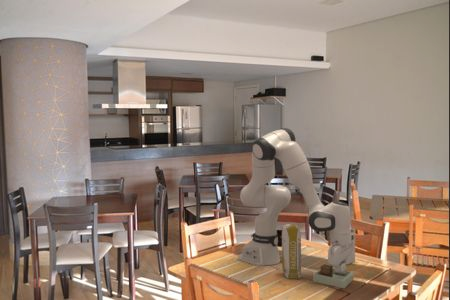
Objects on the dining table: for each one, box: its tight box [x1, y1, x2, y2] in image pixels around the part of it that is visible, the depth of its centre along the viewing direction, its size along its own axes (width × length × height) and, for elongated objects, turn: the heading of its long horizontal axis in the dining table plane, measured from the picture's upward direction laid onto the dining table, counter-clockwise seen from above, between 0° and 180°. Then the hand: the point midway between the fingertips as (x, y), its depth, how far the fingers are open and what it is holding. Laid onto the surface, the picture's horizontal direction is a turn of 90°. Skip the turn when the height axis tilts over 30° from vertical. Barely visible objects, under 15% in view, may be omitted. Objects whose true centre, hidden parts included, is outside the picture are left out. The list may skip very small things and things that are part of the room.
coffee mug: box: [277, 225, 283, 248], centre depth 229 cm, size 12×9×10 cm
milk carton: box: [346, 224, 356, 266], centre depth 199 cm, size 7×7×19 cm
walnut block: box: [320, 263, 334, 277], centre depth 178 cm, size 4×4×5 cm
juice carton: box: [281, 223, 302, 279], centre depth 183 cm, size 9×8×24 cm
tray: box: [312, 267, 355, 289], centre depth 177 cm, size 14×12×3 cm
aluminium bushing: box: [335, 261, 347, 276], centre depth 174 cm, size 4×4×5 cm
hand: (340, 269), depth 174 cm, fingers closed on aluminium bushing, 4 cm apart
